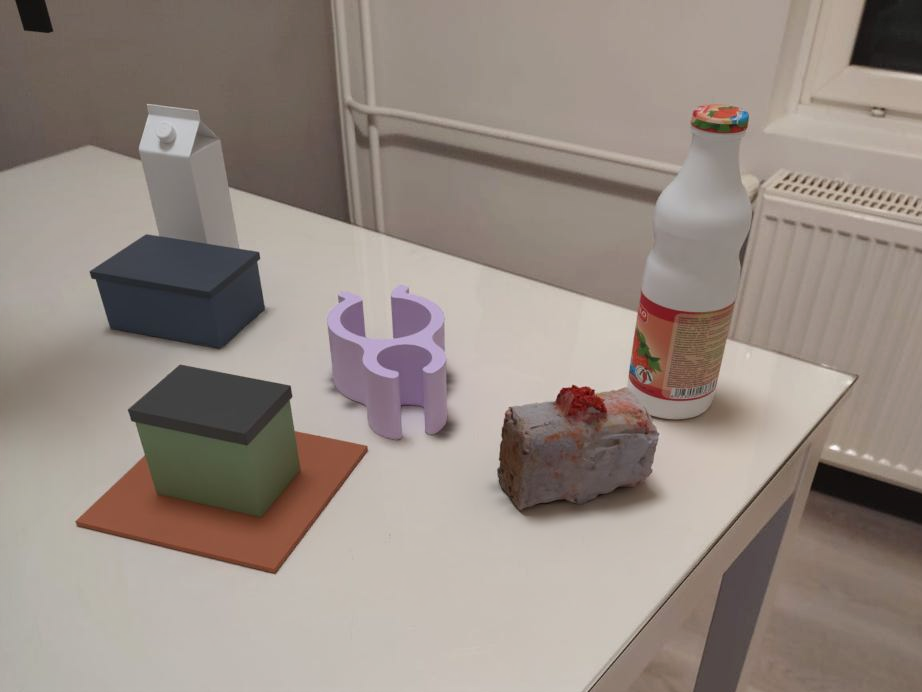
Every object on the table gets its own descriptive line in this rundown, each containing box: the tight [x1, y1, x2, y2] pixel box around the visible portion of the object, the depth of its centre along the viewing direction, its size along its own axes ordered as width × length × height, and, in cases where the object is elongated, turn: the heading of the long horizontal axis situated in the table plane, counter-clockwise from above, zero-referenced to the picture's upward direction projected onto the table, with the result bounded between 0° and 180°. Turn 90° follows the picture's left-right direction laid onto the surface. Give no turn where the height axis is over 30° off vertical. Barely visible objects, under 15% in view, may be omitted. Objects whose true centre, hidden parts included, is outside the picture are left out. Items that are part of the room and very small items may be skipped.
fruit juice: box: [626, 103, 753, 420], centre depth 88 cm, size 9×9×28 cm
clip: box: [326, 284, 448, 441], centre depth 96 cm, size 20×12×7 cm, turn 16°
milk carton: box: [138, 103, 241, 249], centre depth 114 cm, size 7×7×19 cm
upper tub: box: [127, 364, 301, 517], centre depth 82 cm, size 11×8×9 cm
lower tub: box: [89, 233, 266, 349], centre depth 107 cm, size 16×12×7 cm
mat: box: [74, 430, 369, 574], centre depth 86 cm, size 20×20×1 cm
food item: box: [496, 384, 660, 511], centre depth 83 cm, size 14×8×10 cm, turn 110°
